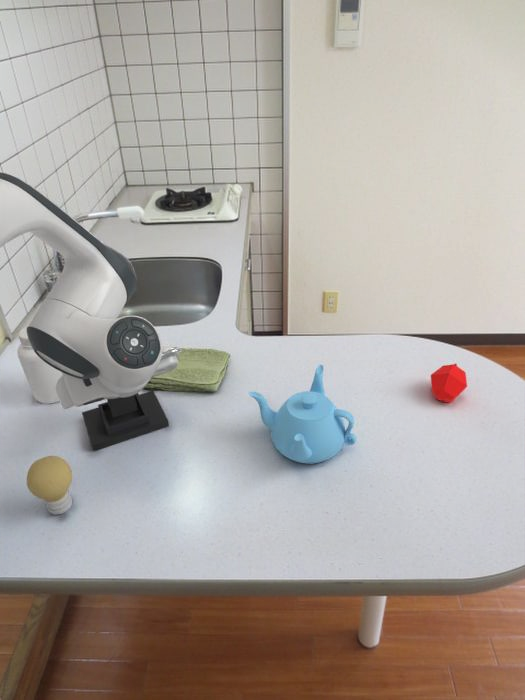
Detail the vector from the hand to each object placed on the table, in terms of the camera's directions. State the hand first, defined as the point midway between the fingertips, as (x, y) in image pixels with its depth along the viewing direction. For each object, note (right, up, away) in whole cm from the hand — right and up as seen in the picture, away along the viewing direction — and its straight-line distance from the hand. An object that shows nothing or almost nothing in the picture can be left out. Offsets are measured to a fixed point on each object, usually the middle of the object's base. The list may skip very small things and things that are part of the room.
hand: (116, 384), depth 95 cm
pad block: (+1, -4, +2) cm, 5 cm away
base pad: (+1, -7, +4) cm, 9 cm away
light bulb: (-6, -19, -11) cm, 23 cm away
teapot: (+34, -10, -1) cm, 35 cm away
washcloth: (+10, +1, +16) cm, 19 cm away
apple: (+62, -3, +8) cm, 63 cm away
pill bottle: (-16, -3, +13) cm, 21 cm away
